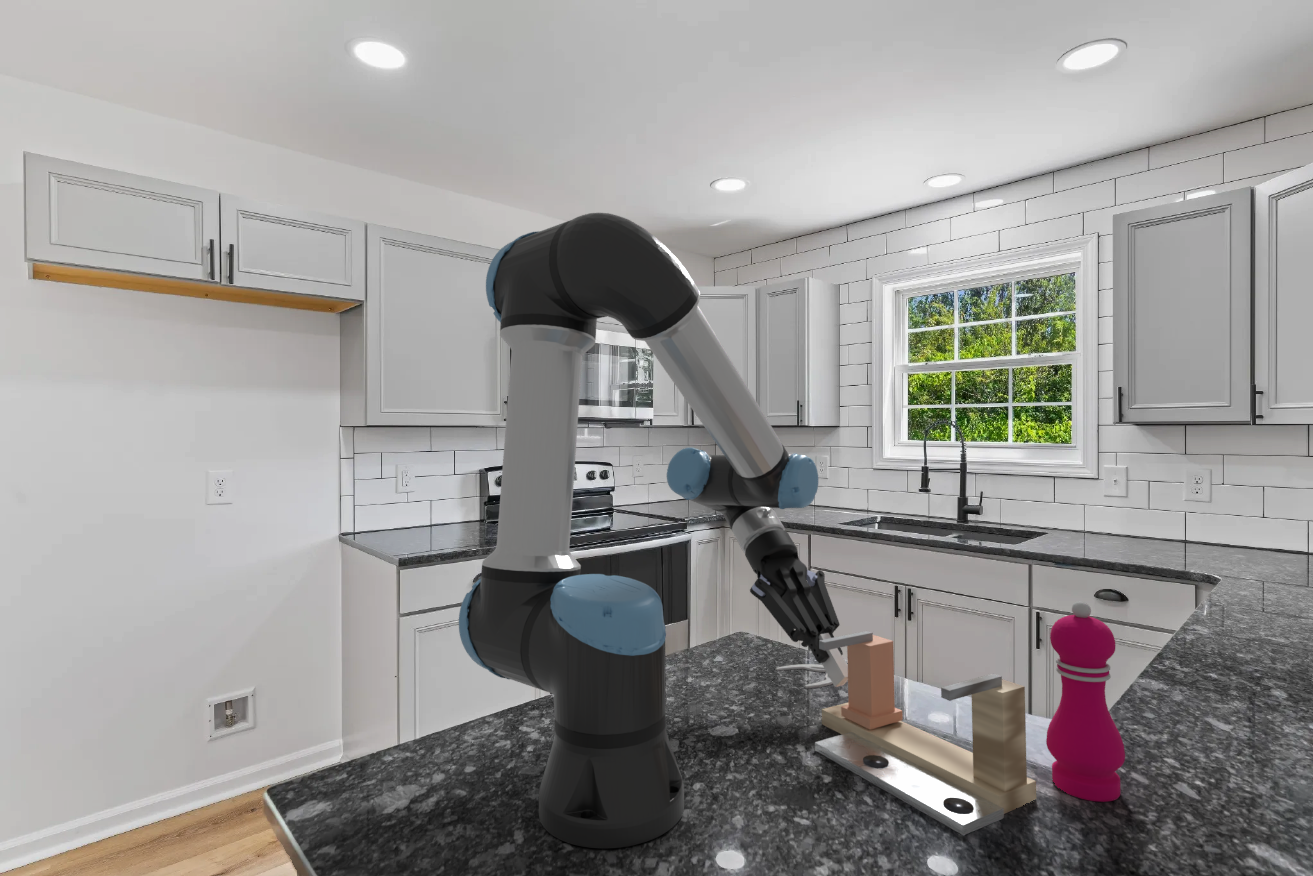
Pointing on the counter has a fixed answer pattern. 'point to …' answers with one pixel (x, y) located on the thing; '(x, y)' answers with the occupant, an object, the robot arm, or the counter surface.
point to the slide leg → (868, 679)
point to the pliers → (812, 668)
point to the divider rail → (983, 772)
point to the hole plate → (911, 783)
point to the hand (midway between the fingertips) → (843, 681)
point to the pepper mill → (1084, 710)
